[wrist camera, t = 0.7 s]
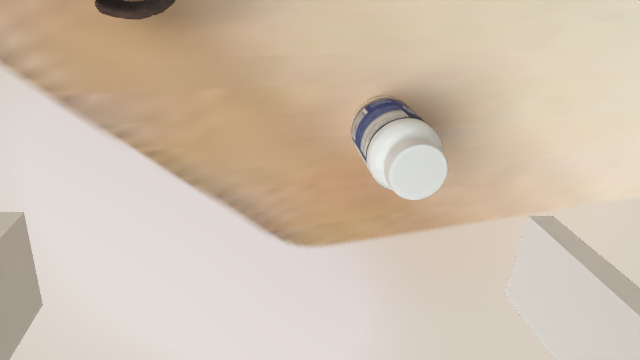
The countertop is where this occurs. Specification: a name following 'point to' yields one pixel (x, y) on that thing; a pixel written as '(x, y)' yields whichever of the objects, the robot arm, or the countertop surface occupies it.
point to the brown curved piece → (132, 8)
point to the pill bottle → (399, 148)
